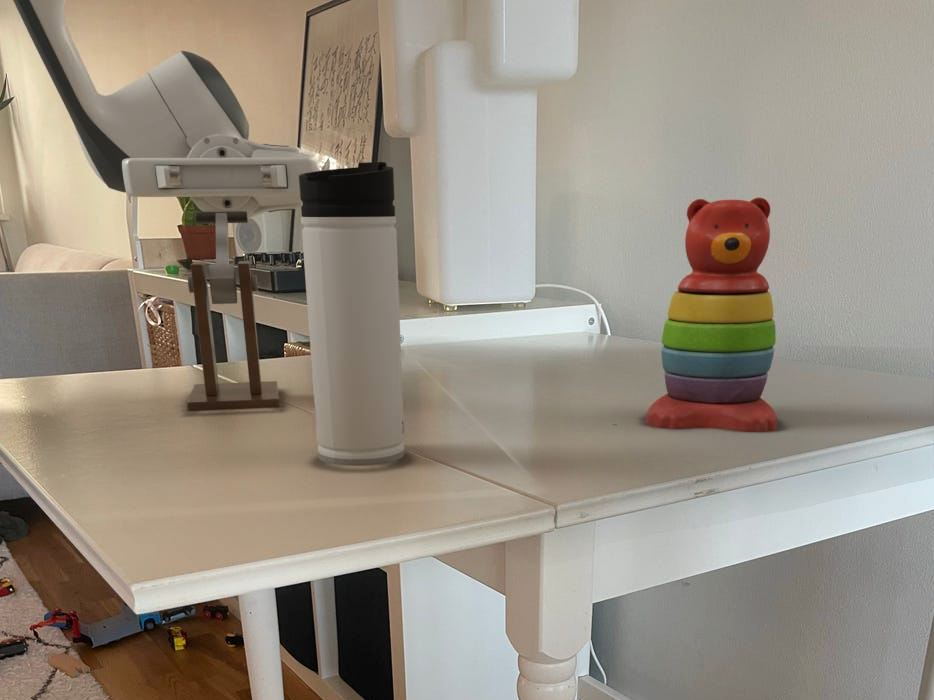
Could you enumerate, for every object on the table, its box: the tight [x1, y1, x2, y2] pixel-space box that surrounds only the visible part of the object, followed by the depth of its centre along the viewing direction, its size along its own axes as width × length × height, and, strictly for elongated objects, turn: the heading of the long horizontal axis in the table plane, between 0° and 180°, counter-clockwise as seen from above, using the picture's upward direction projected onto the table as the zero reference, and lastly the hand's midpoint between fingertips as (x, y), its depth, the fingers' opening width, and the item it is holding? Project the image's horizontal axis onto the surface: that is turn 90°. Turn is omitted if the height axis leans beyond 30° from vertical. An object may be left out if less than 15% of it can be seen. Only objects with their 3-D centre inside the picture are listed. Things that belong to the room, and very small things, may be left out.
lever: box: [194, 210, 249, 305], centre depth 92 cm, size 16×5×2 cm, turn 12°
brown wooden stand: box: [186, 260, 280, 412], centre depth 89 cm, size 10×8×13 cm
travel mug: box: [299, 161, 405, 467], centre depth 67 cm, size 6×7×20 cm
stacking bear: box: [645, 197, 778, 433], centre depth 81 cm, size 11×10×18 cm
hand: (220, 175), depth 97 cm, fingers open, 8 cm apart
